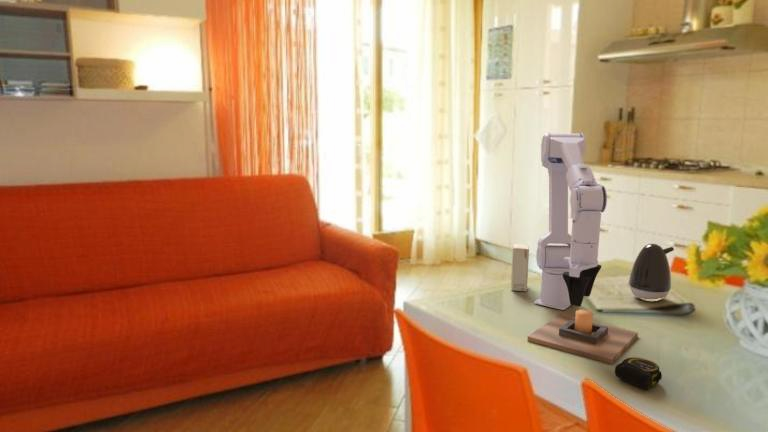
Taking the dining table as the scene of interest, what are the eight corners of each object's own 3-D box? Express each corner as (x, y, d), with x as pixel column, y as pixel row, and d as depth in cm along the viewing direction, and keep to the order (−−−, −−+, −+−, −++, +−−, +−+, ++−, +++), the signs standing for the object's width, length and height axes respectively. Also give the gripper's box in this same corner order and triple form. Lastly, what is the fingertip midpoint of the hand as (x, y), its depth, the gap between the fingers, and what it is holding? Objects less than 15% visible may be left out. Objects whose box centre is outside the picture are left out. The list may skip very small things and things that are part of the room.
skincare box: (527, 292, 157) (529, 249, 154) (511, 291, 157) (513, 248, 155) (526, 285, 163) (528, 243, 161) (510, 284, 164) (512, 243, 161)
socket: (559, 317, 138) (560, 307, 137) (637, 336, 126) (638, 325, 126) (527, 340, 124) (528, 329, 123) (611, 364, 113) (612, 352, 112)
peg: (576, 329, 127) (577, 308, 127) (592, 333, 126) (594, 311, 125) (572, 335, 124) (574, 313, 124) (589, 338, 123) (591, 316, 122)
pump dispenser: (677, 305, 147) (683, 248, 144) (637, 305, 147) (642, 248, 144) (659, 293, 157) (664, 239, 154) (621, 292, 157) (626, 239, 154)
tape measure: (611, 380, 106) (613, 361, 106) (633, 371, 110) (634, 353, 109) (645, 395, 101) (647, 376, 100) (667, 385, 105) (669, 366, 104)
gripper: (575, 232, 131) (570, 288, 133) (556, 244, 119) (552, 306, 121) (607, 236, 127) (602, 293, 129) (591, 249, 115) (586, 312, 118)
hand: (580, 300), depth 125 cm, fingers open, 7 cm apart
